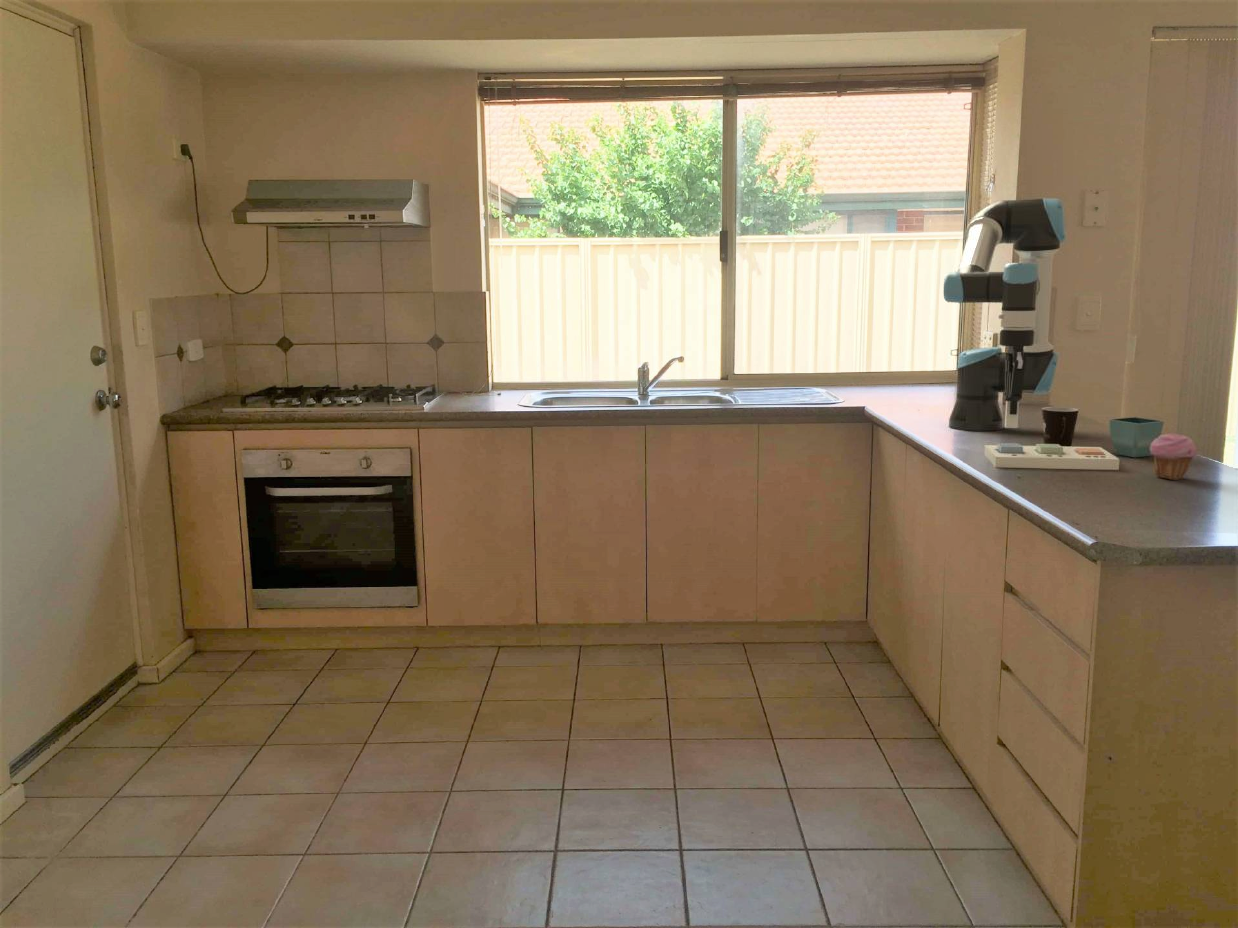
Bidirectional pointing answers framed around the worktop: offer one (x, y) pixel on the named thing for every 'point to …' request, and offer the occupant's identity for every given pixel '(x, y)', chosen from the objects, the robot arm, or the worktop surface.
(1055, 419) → the coffee mug
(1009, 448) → the button
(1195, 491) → the worktop surface
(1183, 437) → the cupcake
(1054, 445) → the button
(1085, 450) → the button
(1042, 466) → the panel
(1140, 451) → the flower pot
